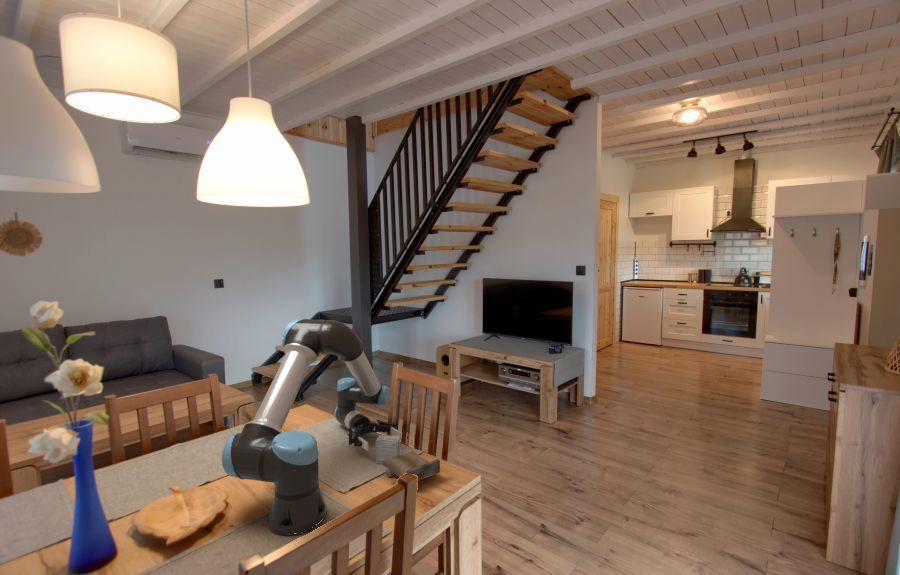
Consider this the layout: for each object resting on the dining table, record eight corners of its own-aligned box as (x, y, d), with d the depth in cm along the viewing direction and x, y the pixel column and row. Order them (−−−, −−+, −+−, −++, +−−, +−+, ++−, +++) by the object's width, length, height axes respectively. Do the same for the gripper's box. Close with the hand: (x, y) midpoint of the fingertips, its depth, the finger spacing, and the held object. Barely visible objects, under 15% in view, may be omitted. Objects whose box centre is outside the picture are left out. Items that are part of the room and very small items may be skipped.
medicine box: (400, 458, 152) (400, 435, 152) (398, 465, 148) (397, 441, 147) (379, 458, 153) (378, 434, 152) (376, 464, 149) (375, 440, 148)
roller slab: (407, 493, 131) (407, 473, 130) (381, 472, 143) (381, 453, 143) (441, 478, 139) (441, 459, 138) (414, 460, 151) (413, 442, 151)
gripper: (385, 424, 178) (413, 441, 161) (328, 440, 162) (352, 462, 146) (384, 406, 177) (413, 422, 161) (327, 422, 162) (352, 441, 145)
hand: (384, 441), depth 153 cm, fingers open, 13 cm apart
